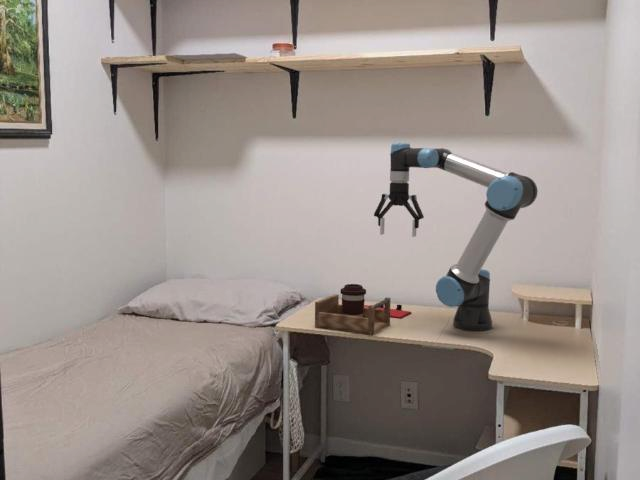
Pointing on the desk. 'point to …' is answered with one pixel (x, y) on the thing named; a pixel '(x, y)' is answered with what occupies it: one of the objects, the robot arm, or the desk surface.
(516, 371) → the desk surface
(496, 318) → the desk surface
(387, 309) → the wooden crate
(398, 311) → the red board with handle
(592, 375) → the desk surface
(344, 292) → the coffee cup
